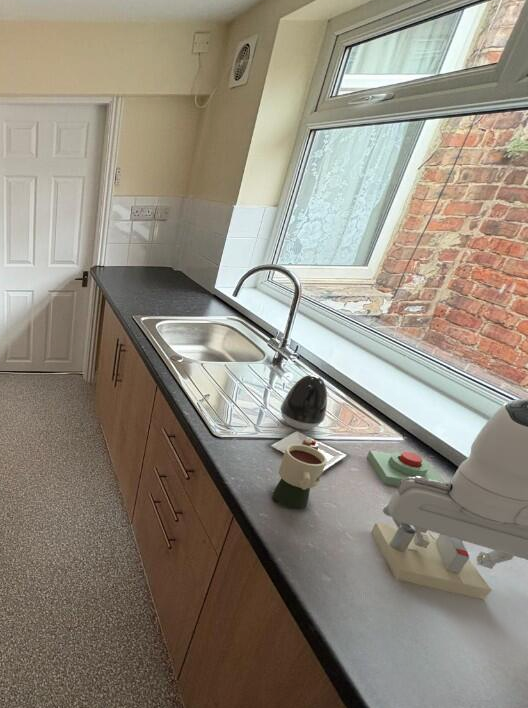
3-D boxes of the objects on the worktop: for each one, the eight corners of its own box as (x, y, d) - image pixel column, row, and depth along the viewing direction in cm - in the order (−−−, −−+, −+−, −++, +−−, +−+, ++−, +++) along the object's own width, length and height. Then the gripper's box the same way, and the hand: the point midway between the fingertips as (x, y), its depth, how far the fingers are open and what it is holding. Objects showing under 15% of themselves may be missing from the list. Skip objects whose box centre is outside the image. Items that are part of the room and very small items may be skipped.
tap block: (459, 553, 78) (468, 539, 76) (498, 608, 68) (509, 594, 67) (369, 534, 82) (375, 521, 80) (393, 583, 73) (402, 569, 71)
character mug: (312, 525, 84) (333, 475, 78) (272, 515, 87) (290, 466, 81) (303, 489, 93) (321, 443, 87) (267, 481, 96) (282, 435, 90)
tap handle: (435, 540, 76) (445, 524, 74) (446, 544, 75) (457, 527, 73) (446, 570, 71) (457, 552, 69) (458, 574, 70) (470, 556, 68)
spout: (389, 520, 81) (398, 502, 78) (408, 553, 74) (419, 533, 72) (375, 517, 81) (384, 499, 79) (393, 549, 75) (403, 530, 72)
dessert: (345, 458, 102) (352, 442, 100) (319, 476, 97) (326, 459, 95) (295, 434, 112) (300, 419, 110) (269, 449, 106) (274, 433, 104)
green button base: (421, 466, 99) (428, 452, 98) (443, 494, 91) (452, 480, 89) (366, 457, 103) (372, 444, 101) (383, 483, 94) (390, 470, 93)
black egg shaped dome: (272, 425, 116) (287, 377, 109) (282, 410, 122) (297, 364, 116) (315, 439, 109) (334, 390, 103) (323, 423, 116) (341, 375, 109)
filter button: (414, 459, 96) (418, 453, 96) (422, 469, 93) (425, 463, 92) (396, 456, 97) (399, 450, 97) (403, 465, 94) (406, 459, 94)
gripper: (408, 484, 69) (377, 542, 75) (594, 533, 59) (541, 595, 66) (401, 462, 74) (372, 519, 80) (571, 504, 64) (524, 565, 70)
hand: (450, 553), depth 73 cm, fingers open, 7 cm apart
